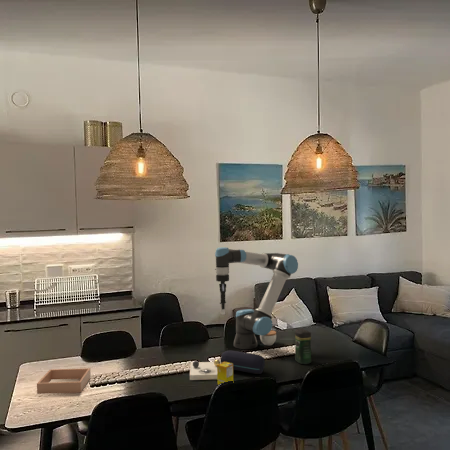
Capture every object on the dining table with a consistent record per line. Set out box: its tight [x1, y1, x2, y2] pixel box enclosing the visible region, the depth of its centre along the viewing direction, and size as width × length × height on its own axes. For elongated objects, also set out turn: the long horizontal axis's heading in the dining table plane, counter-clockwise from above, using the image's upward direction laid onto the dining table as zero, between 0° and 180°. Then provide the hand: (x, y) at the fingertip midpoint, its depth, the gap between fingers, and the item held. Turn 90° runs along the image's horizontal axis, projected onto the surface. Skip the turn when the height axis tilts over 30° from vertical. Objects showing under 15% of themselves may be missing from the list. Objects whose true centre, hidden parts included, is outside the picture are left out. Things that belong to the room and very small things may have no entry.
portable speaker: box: [220, 349, 266, 375], centre depth 259 cm, size 25×10×10 cm, turn 60°
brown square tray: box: [36, 367, 91, 395], centre depth 241 cm, size 21×20×5 cm
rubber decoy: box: [192, 360, 200, 367], centre depth 258 cm, size 3×3×3 cm
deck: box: [189, 361, 221, 381], centre depth 257 cm, size 20×18×2 cm
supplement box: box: [216, 362, 234, 386], centre depth 238 cm, size 6×6×11 cm
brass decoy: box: [213, 359, 221, 366], centre depth 260 cm, size 3×3×3 cm
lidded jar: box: [259, 329, 277, 346], centre depth 308 cm, size 11×11×9 cm
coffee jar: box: [294, 328, 312, 365], centre depth 272 cm, size 10×8×19 cm
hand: (223, 314), depth 278 cm, fingers closed
